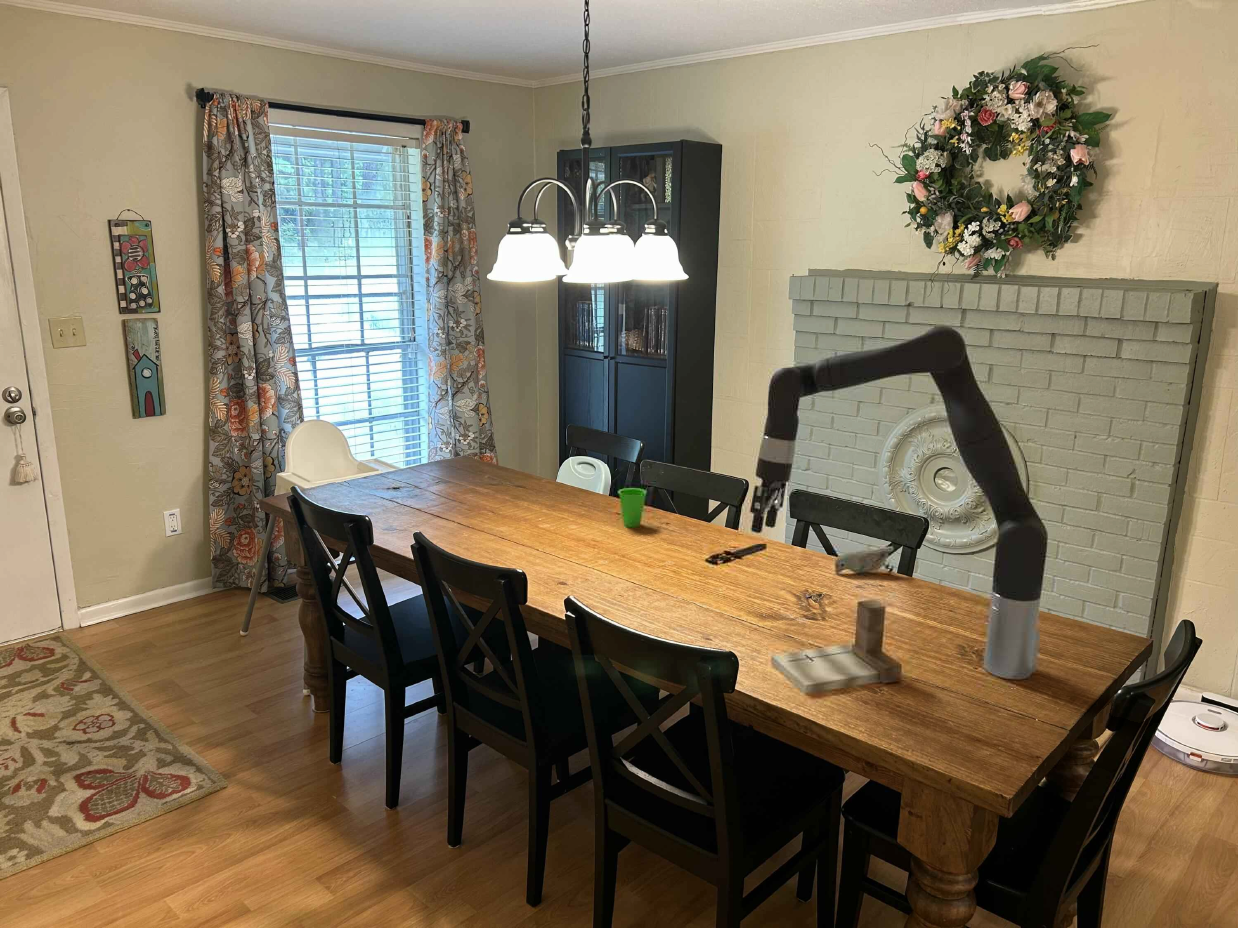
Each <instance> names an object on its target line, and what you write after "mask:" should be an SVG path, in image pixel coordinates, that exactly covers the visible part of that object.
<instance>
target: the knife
mask: <svg viewBox="0 0 1238 928" xmlns="http://www.w3.org/2000/svg"><path fill="white" fill-rule="evenodd" d="M766 546H767V543H757V544H754V545H750V546H747V547H743V548H741V549H737V550H735V551H731V550H727V549H726V550H725V549H724V550H723V552H720V553H718V552H717V553H714V554H712V555H710V556H708V557H707V558H705V559H704V562H705V563H708V564H710V565H714V566H717V565H719V562H722V564H725V563H729V562H731V561H732V558H733V559H739V560H741V559H742V556H745V555H748V554H751V553H754V552H758V551H760V550H764V549H765V548H766ZM724 555H725V556H724Z"/></svg>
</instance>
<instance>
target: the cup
mask: <svg viewBox="0 0 1238 928" xmlns="http://www.w3.org/2000/svg"><path fill="white" fill-rule="evenodd" d="M617 493H618V494H619V501H620V509H621V516H622V521H623V523H622V524H623V525H624V527H626V528H638V527H640V525H641V523H642V522H641V521H642V517H643V510H644V505H645V499H646V495H647V493H648V492H647V490H646V489H643V488H637V487H629V488H622V489H619V490H618V491H617Z"/></svg>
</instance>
